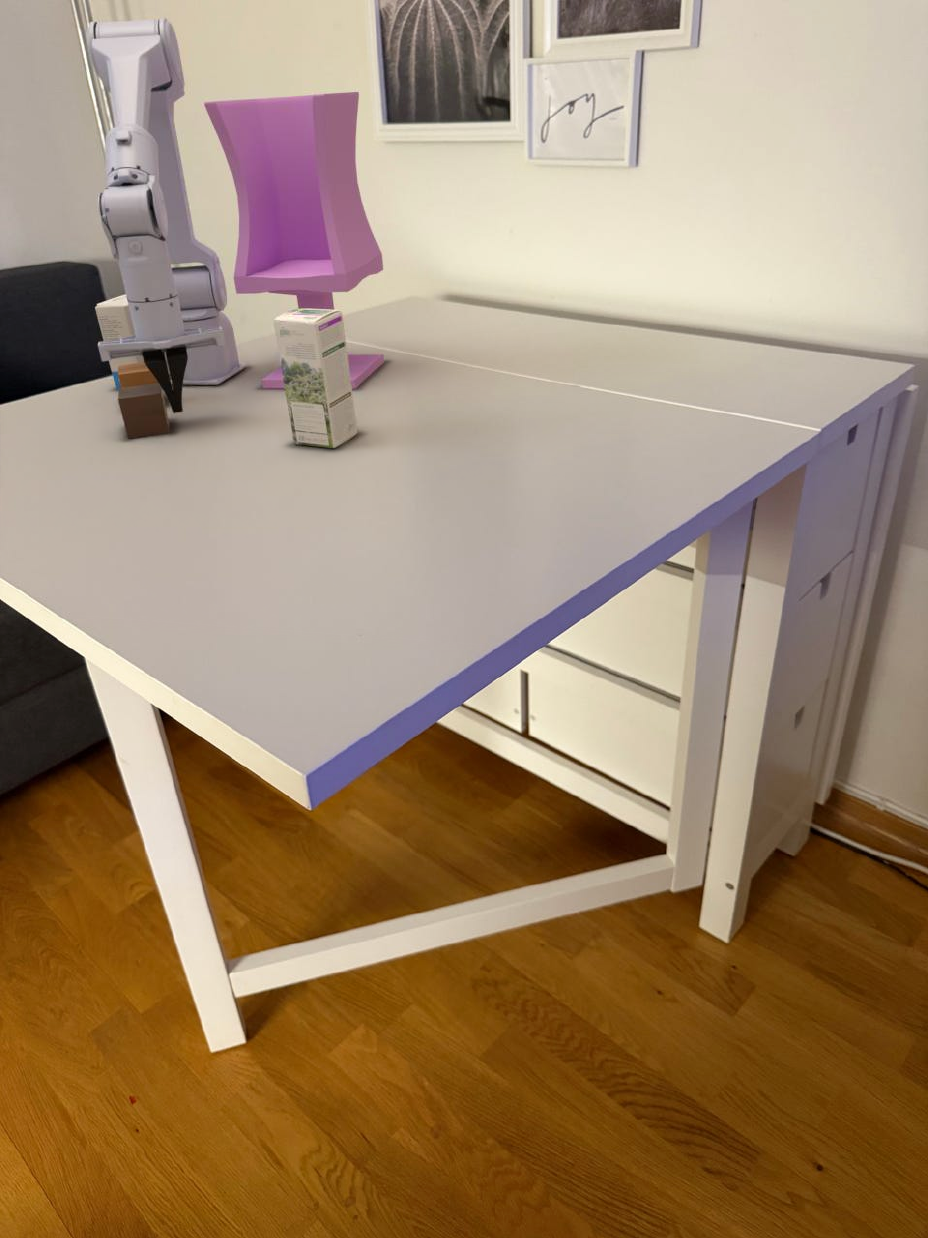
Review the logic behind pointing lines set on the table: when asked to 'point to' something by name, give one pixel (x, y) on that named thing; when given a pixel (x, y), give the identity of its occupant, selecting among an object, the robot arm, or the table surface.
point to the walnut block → (143, 410)
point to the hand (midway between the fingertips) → (177, 410)
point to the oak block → (135, 375)
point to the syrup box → (316, 376)
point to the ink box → (117, 329)
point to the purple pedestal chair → (298, 203)
